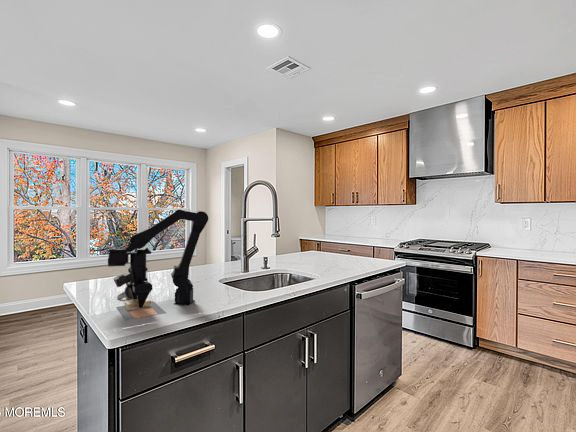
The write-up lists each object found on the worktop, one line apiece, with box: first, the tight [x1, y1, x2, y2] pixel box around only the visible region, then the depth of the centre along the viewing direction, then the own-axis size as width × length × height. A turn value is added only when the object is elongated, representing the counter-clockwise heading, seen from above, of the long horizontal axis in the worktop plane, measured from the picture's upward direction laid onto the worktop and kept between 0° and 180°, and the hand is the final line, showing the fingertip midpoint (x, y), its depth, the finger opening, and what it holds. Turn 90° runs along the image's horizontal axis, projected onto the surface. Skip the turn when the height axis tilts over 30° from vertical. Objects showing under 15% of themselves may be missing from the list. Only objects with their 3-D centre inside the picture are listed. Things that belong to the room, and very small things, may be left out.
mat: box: [115, 300, 167, 322], centre depth 120 cm, size 14×18×1 cm
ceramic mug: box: [116, 285, 133, 300], centre depth 136 cm, size 11×8×8 cm
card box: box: [124, 296, 152, 311], centre depth 124 cm, size 8×6×2 cm, turn 128°
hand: (137, 304), depth 124 cm, fingers open, 9 cm apart
